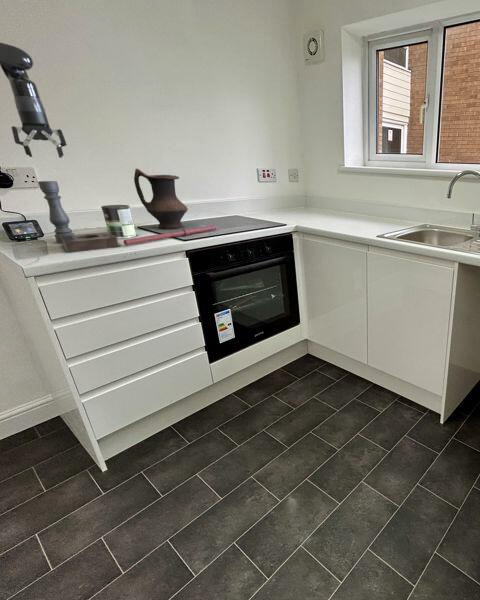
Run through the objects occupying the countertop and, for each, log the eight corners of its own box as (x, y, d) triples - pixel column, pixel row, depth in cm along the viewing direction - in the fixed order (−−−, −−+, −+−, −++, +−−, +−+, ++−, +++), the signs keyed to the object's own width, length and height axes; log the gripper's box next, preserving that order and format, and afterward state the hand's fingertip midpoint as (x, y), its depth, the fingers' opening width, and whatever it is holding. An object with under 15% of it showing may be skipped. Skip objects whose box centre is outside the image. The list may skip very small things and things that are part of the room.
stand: (68, 252, 136) (65, 242, 135) (62, 245, 146) (59, 236, 144) (118, 246, 147) (116, 237, 146) (110, 240, 157) (108, 231, 156)
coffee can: (110, 239, 159) (101, 207, 154) (108, 235, 166) (100, 205, 161) (138, 237, 165) (130, 206, 160) (135, 233, 172) (127, 204, 167)
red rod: (213, 230, 187) (212, 224, 186) (217, 230, 186) (216, 224, 185) (123, 245, 148) (121, 238, 147) (128, 246, 147) (126, 239, 146)
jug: (187, 223, 203) (177, 168, 192) (193, 228, 190) (183, 169, 179) (143, 226, 191) (130, 167, 180) (147, 231, 177) (132, 169, 166)
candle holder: (76, 239, 156) (58, 181, 147) (75, 242, 152) (57, 181, 143) (57, 241, 153) (37, 181, 144) (56, 243, 148) (36, 181, 139)
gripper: (55, 113, 139) (68, 157, 145) (3, 109, 129) (19, 156, 135) (58, 112, 134) (71, 158, 140) (4, 107, 124) (21, 156, 130)
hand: (46, 157), depth 137 cm, fingers open, 8 cm apart
